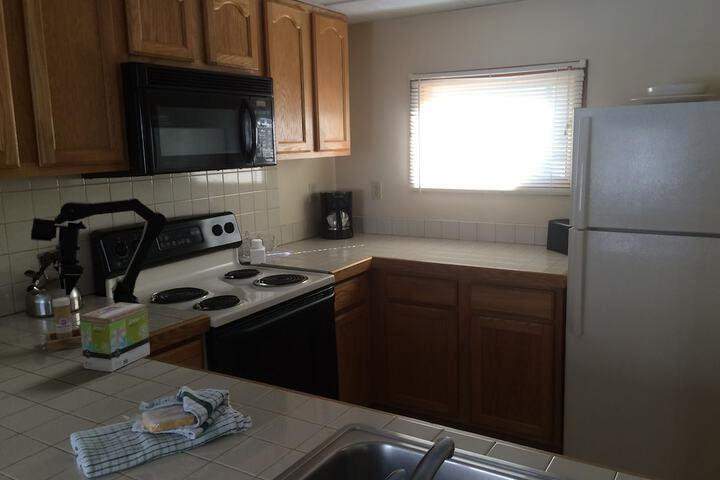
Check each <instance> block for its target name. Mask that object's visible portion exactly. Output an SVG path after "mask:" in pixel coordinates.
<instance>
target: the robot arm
mask: <svg viewBox="0 0 720 480" xmlns="http://www.w3.org/2000/svg"><path fill="white" fill-rule="evenodd" d="M125 212H134V213H136V214H137V215H138V216H139V217H141V218H142V219H144V220H145V223H144V227H143V232H142V236H141V239H140V241H139V243H138V245H137V247H136V249H135V252H134V253H133V255H132V259H131V260H130V262H129V265H128V266H127V269H126V271H125V273H124V275H123V276H122V277H121V279H120V278H118V277H116V279H115V282H114V285H113V286H112V287H111V288H110V289H111V295H112V296H111V297H112V301H113V303H114V304H116V303H119V302H122V303H133V304H141V303H140V300H139V298H138V297H137V296H136V295H135V294H134V293H135V288H136V283H137V279H138V277H139V275H140V273H141V271H142V269H143V266H144V264H145V261H146V260H147V257H148V255H149V254H150V251H151V250H152V247H153V245H154V242H155V241H156V240H157V239H158V237H159V236H160V235H161V233H162V232H163V231H164V229H166V227H167V224H168V220H167V218H166V216H165V215H164V214H163V213H161V212H160V211H158V210H157V211H156V210H155V211H153V210H152V209H151V208H149V207H148V206H146V205H145V204H144V203H143V202H141V200H140V199H139V198H136V197H132V198H128V199H117V200H107V201H99V202H97V201H96V202H86V201H85V202H84V201H74V200H72V201H70V200H69V201H66V202H65V203H64V204H62V206H61V207H60V211H59V214H58V215H56V216H54V219H49V218H48V219H46V218H40V217H34V218H33V219H32V228H31V231H30V240H31V241H35V242H36V241H37V242H38V241H39V242H53V240H54V239H57V233H58V243H57V244H55V248H54V249H51V250H48V251H43V252H40V253H37V254H36V255H35V257H36V258H37V262H38V264H39V266H40V267H45V266H47V265H50V264H51V266H52V268H53V269H54V270H55V271H56V272H57V277H58V282H59V287H60V290H64V293H65V296H71V294H72V292H73V290H74V289H75V287H76V285H77V283H78V281H79V280H80V279H81V277H82V275H84V267H83V265H81V264H80V263H79V262H80V260H79V259H78V257H79V251H80V250H81V247H80V246H79V245H80V244H79V243H80V234H81V233H80V232H81V230H86V229H87V226H86V224H85V223H84V222H83V220H82V219H85V218H89V217H93V216H97V215H106V214H114V213H115V214H116V213H125ZM79 220H80V221H79ZM76 221H79V222H76ZM66 222H67V224H64V223H66ZM58 228H59V229H58Z"/></svg>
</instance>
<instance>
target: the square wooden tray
mask: <svg viewBox="0 0 720 480" xmlns="http://www.w3.org/2000/svg"><path fill="white" fill-rule="evenodd" d="M72 336H73V337H71V338H65V339H59V340H57V335H56V331H53V332H46V333H45V342H46V347H47V351H48V353H51V352H57V351H63V350H68V349H73V348H74V349H75V348H82V339H81V327H79V328H78V327H77V328H72Z"/></svg>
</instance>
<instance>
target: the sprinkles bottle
mask: <svg viewBox="0 0 720 480" xmlns="http://www.w3.org/2000/svg"><path fill="white" fill-rule="evenodd" d="M70 305H71V300H70V298H69V297H56V298H54V299H52V306H53V314H54V315H53V316H54V327H55V332H56V335H57V340H59V339H65V338H71V337H73V336H72V329H73V326H72V315H71V306H70Z"/></svg>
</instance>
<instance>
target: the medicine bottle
mask: <svg viewBox="0 0 720 480" xmlns="http://www.w3.org/2000/svg"><path fill="white" fill-rule="evenodd" d="M266 259H267V258H266V247H265V246H264V239H262V238H259V237H258V238H252V239H250V248H249V261H250V262H249V263H250V265H262V264H261V263H265V264H266Z"/></svg>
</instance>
